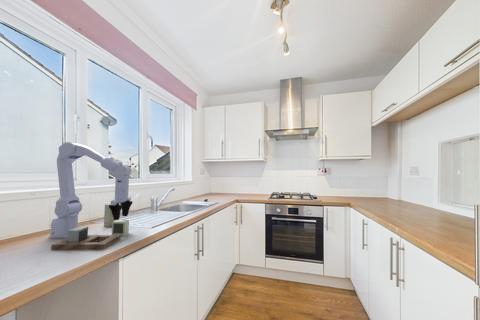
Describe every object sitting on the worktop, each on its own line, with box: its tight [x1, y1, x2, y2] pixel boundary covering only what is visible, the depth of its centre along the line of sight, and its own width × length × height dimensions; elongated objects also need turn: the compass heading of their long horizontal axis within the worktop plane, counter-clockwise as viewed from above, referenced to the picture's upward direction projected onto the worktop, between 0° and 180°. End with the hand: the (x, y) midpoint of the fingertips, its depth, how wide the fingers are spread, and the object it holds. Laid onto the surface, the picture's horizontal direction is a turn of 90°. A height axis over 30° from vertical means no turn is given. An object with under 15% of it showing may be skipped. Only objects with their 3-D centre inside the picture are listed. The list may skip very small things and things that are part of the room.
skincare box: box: [103, 202, 116, 228], centre depth 116 cm, size 6×4×12 cm
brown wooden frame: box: [51, 234, 122, 251], centre depth 86 cm, size 20×12×2 cm, turn 92°
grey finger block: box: [68, 226, 89, 243], centre depth 86 cm, size 4×6×6 cm, turn 2°
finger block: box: [111, 219, 130, 237], centre depth 99 cm, size 4×6×6 cm, turn 92°
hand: (120, 217), depth 100 cm, fingers open, 7 cm apart
